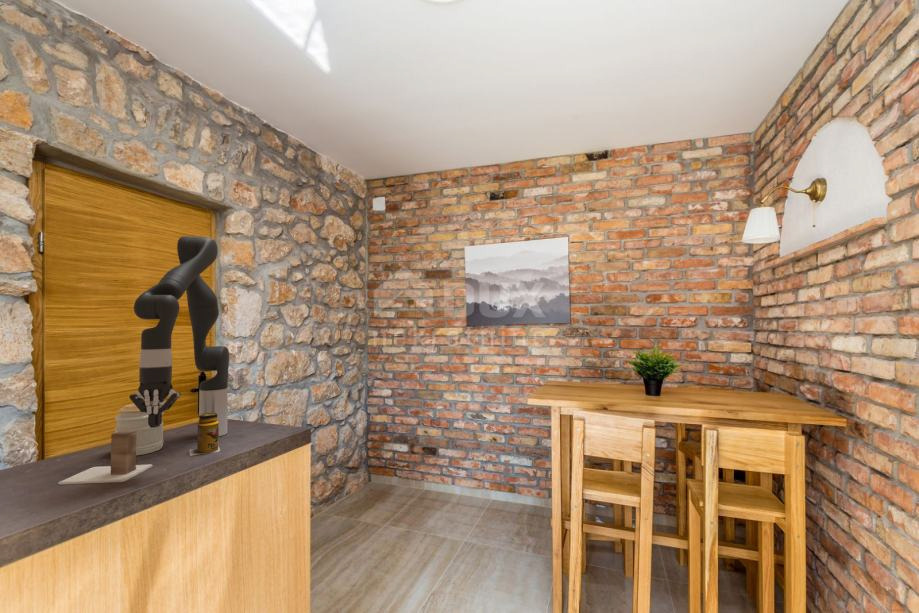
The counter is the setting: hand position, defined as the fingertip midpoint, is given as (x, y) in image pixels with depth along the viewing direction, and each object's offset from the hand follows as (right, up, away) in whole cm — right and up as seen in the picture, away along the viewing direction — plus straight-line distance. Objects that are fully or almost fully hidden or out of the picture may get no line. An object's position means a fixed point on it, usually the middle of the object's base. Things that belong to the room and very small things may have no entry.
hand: (154, 426), depth 119 cm
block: (-8, -12, -1) cm, 15 cm away
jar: (-20, -14, +21) cm, 32 cm away
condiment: (+2, -14, +20) cm, 24 cm away
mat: (-12, -13, -2) cm, 18 cm away
